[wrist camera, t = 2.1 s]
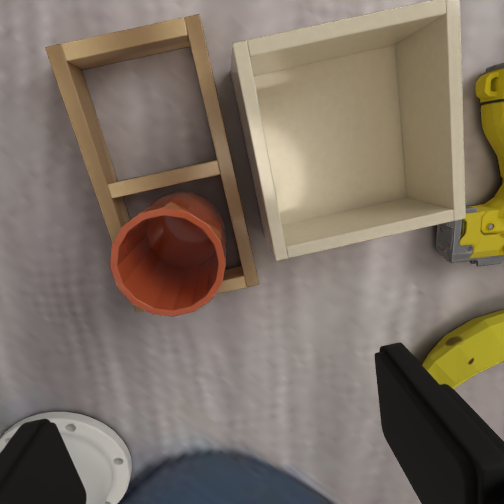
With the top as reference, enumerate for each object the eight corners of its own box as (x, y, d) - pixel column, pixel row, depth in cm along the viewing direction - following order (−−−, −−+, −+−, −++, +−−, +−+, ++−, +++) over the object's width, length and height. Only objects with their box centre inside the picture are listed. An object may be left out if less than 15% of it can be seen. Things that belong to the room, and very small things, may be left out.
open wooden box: (264, 236, 28) (276, 261, 22) (230, 70, 25) (232, 43, 18) (412, 203, 29) (466, 218, 22) (400, 33, 25) (460, -7, 19)
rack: (143, 299, 29) (136, 312, 27) (62, 57, 24) (44, 46, 21) (256, 273, 29) (259, 284, 27) (201, 27, 24) (199, 13, 21)
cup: (157, 276, 29) (130, 326, 21) (133, 201, 27) (94, 223, 19) (232, 259, 29) (235, 302, 21) (214, 183, 27) (209, 197, 19)
